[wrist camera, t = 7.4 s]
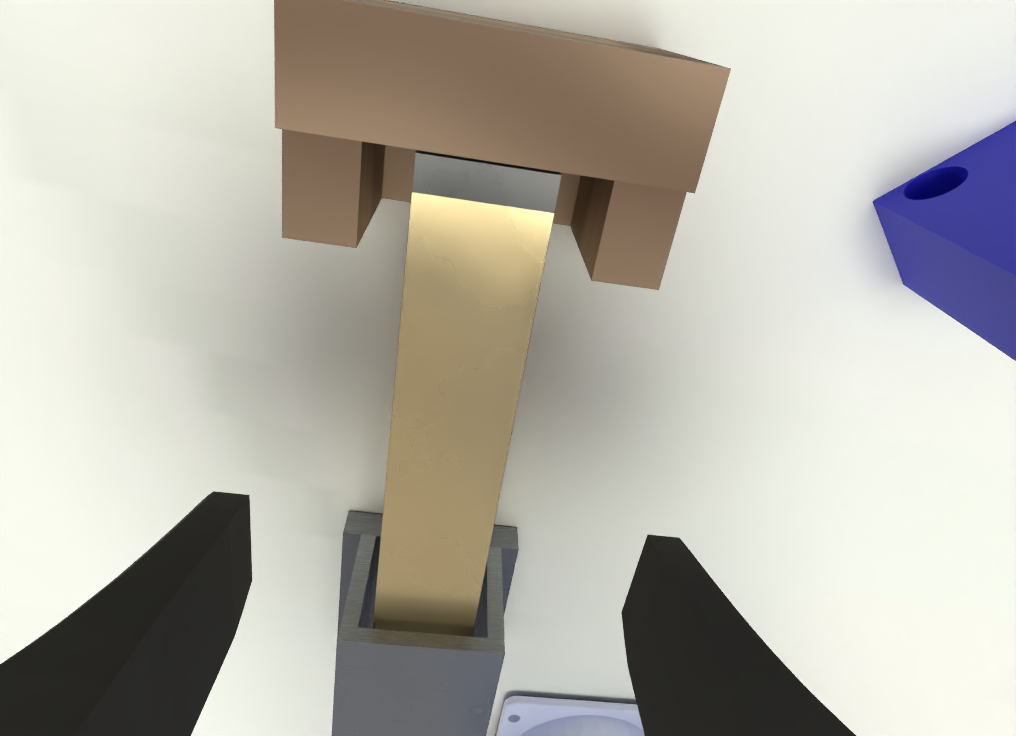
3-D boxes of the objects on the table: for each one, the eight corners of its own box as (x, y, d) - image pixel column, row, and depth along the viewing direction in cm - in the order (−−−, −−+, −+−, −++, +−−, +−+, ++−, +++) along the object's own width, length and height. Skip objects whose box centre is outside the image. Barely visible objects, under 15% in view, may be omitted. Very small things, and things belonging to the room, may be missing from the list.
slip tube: (471, 575, 23) (469, 648, 21) (384, 567, 23) (371, 640, 20) (548, 147, 16) (561, 175, 14) (426, 127, 16) (415, 153, 14)
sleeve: (492, 640, 27) (494, 775, 22) (342, 627, 27) (311, 764, 22) (517, 527, 24) (525, 655, 20) (348, 510, 24) (315, 638, 19)
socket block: (618, 222, 19) (664, 299, 14) (331, 179, 18) (275, 245, 13) (659, 48, 17) (731, 68, 12) (336, -9, 16) (274, -12, 11)
